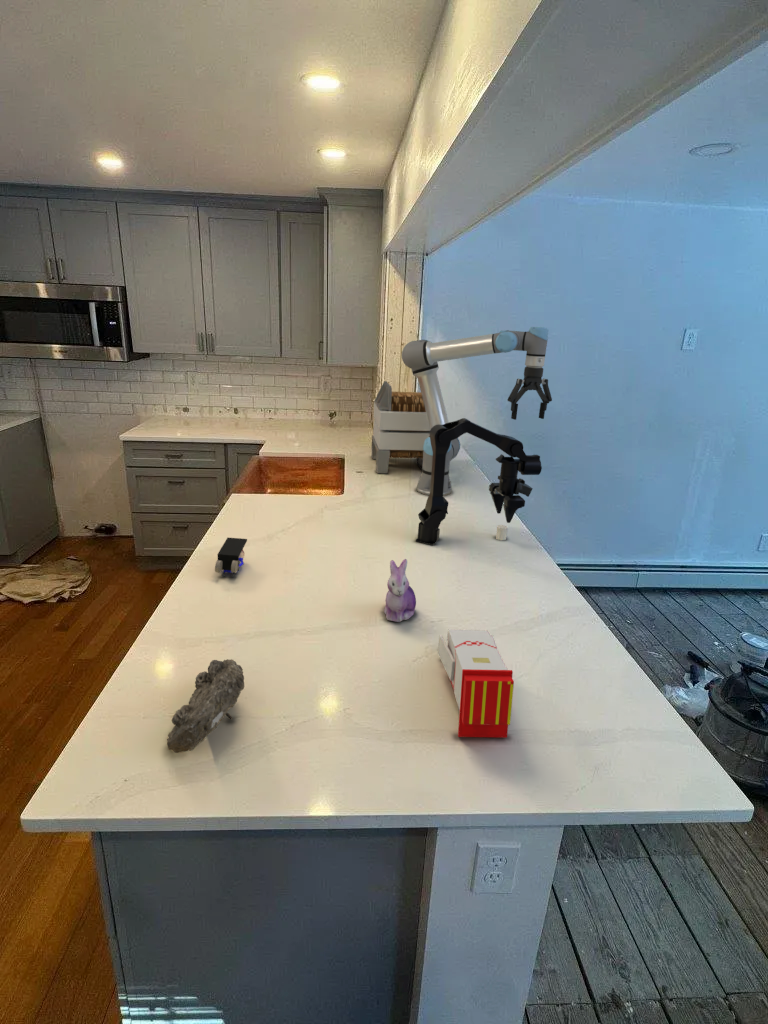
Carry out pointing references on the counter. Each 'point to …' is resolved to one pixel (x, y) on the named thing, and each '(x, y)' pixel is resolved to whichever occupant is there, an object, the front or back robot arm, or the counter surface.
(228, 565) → the black toy vehicle
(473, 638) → the toy
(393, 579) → the figurine
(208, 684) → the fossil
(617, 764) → the counter surface
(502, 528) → the beige cylinder
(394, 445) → the grey crate
